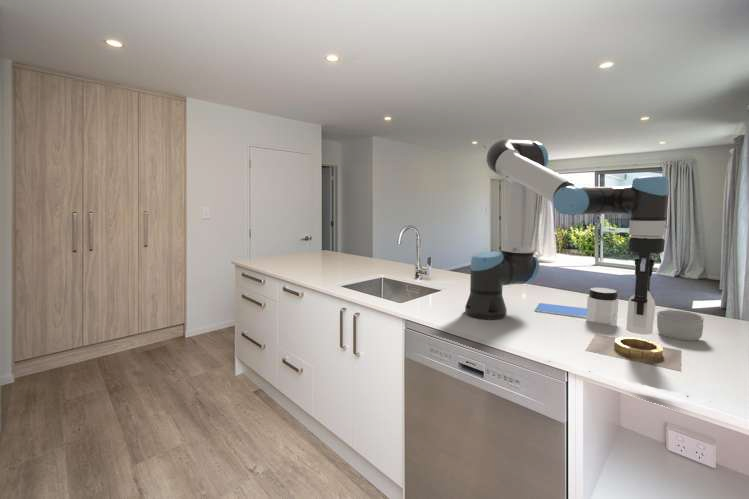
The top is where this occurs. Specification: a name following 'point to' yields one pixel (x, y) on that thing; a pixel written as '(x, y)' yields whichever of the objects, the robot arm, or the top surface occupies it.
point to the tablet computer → (561, 310)
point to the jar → (602, 306)
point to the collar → (652, 353)
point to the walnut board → (606, 347)
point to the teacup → (680, 324)
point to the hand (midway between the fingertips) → (640, 323)
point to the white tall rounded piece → (648, 318)
